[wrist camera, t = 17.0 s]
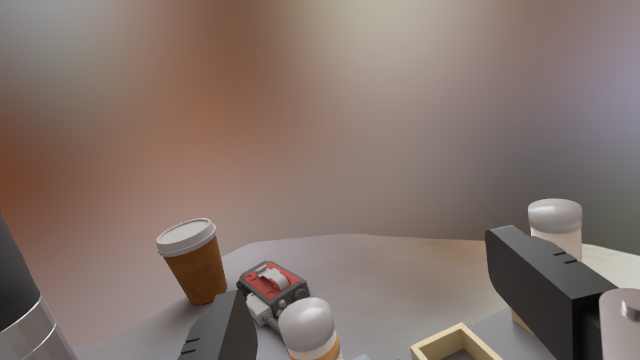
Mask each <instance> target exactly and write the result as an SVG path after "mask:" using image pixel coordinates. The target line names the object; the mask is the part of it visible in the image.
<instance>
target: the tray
mask: <svg viewBox="0 0 640 360" xmlns="http://www.w3.org/2000/svg"><path fill="white" fill-rule="evenodd" d="M353 360H369V359H368V357H367V356H366V354H364V355H361V356H359V357H357V358H355V359H353Z"/></svg>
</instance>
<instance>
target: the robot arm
mask: <svg viewBox="0 0 640 360" xmlns="http://www.w3.org/2000/svg"><path fill="white" fill-rule="evenodd" d="M485 243H486V252H487V262H488V272H489V277H490V280H491V282H492V284H493V287H494V288H495V290H496V291H497V293H498V294H499V295H500V296H501V297H502V298H503V299H504V300H505V302H506V303H507V304H508V305H509V306H510V307H511V308H512V310H513V311H514V312H515V313H516V314H517V315H518V316H519V317H520V319H521V320H522V321H523V322H524V323H525V324H526V325H527V326H528V328H529V329H530V330H531V331H532V332H533V333H534V334H535V336H536V337H537V338H538V339H539V340H540V341H541V342H542V343H543V345H544V346H545V347H546V348H547V349H548V350H549V351H550V352H551V354H552V355H553V356H554V357H555V358H556V359H557V360H640V290H639V289H630V288H618V287H617V286H615V285H614V284H613V283H611V282H610V281H608V280H607V279H605V278H604V277H602V276H601V275H599V274H598V273H596V272H595V271H594V270H592V269H591V268H589V267H588V266H586V265H585V264H583V263H582V262H580V261H579V262H578V261H577V259H576V258H575V257H573V256H572V255H570V254H569V253H566V251H564V250H563V249H562V248H560V247H559V246H557V245H556V244H554V243H553V242H551V241H548V240H545V239H542V238H539V237H536V236H531V237H528V236H527V235H526V234H524V233H523V232H522V231H520V230H519V229H518V228H516V227H515V226H513V225H507V226H503V227H499V228H495V229H490V230H487V231H486V233H485ZM185 342H186V344H184V346H183V348H182V350H181V355H180V356H179V358H178V360H256V355H257V347H258V340H257V333H256V328H255V325H254V323H253V320H252V317H251V314H250V312H249V309H248V306H247V303H246V301H245V298H244V295H243V293H242V291H241V290H239V289H238V290H234V291H230V292H226V293H222V294H217V295H216V296H215V298H214V301H213V304H212V306H211V309H210V312H209V313H207V314H202V315H201V317H200V318H199V319H198V320H197V321H196V322H195V324H194V325H193V326H192V327H191V329H190V331H189V334H188V336H187V338H186V341H185ZM0 360H78V358H77V357H76V355H75V353H74V351H73V349H72V348H71V346H70V344H69V342H68V341H67V339H66V337H65V336H64V334H63V332H62V330H61V328H60V327H59V325H58V323H57V321H56V320H55V318H54V316H53V314H52V313H51V311H50V309H49V307H48V306H47V304H46V302H45V300H44V298H43V297H42V295H41V294H40V291H39V290H38V288H37V286H36V284H35V283H34V281H33V279H32V277H31V274H30V272H29V269H28V267H27V264H26V262H25V260H24V258H23V256H22V254H21V252H20V250H19V248H18V246H17V245H16V243H15V241H14V239H13V237H12V235H11V233H10V231H9V229H8V227H7V225H6V223H5V221H4V219H3V217H2V215H1V212H0Z"/></svg>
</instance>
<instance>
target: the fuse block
mask: <svg viewBox="0 0 640 360" xmlns="http://www.w3.org/2000/svg"><path fill="white" fill-rule="evenodd" d="M410 350H411V354H410V355H407V356H405V357H403V358H401V359H399V360H557V359H556V358H555V357H554V356H553V355H552V354H551V352H550V351H549V350H548V349H547V348H546V347H545V346H544V345H543V343H542V342H541V341H540V340H539V339H538V338H537V337H536V336H535V334H534V333H533V332H532V331H531V330H530V329H529V328H528V326H527V325H526V324H525V323H524V322H523V321H522V320H521V319H520V317H519V316H518V315H517V314H516V313H515V312H514V311H513V310H512V308H511V307H509V308H507V309H505V310H503V311H500V312H498V313H496V314H494V315H492V316H490V317H488V318H486V319H484V320H481V321H479V322H477V323H475V324H473V325H471V326H469V327H466V326H465V325H464V324H463V323H462V322H461V323H459V324H457V325H455V326H453V327H451V328H448V329H446V330H444V331H442V332H440V333H438V334H436V335H434V336H431V337H429V338H427V339H425V340H423V341H421V342H419V343H416V344H414V345H412V346H410Z"/></svg>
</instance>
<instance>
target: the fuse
mask: <svg viewBox="0 0 640 360" xmlns="http://www.w3.org/2000/svg"><path fill="white" fill-rule="evenodd" d="M528 212H529V224H530V226H531V236H536V237H539V238H542V239H545V240H548V241H551V242H553V243H554V244H556V245H557V246H559V247H560V248H562V249H563V250H564V251H566V253H569V254H570V255H572V256H573V257H575V258H576V259H577V261H578V262H579V261H580V262H582V250H581V226H582V207H581V206H580V205H579V204H578V203H576V202H573V201H570V200H565V199H544V200H539V201H536V202H533V203H532V204H530V205H529V207H528Z"/></svg>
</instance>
